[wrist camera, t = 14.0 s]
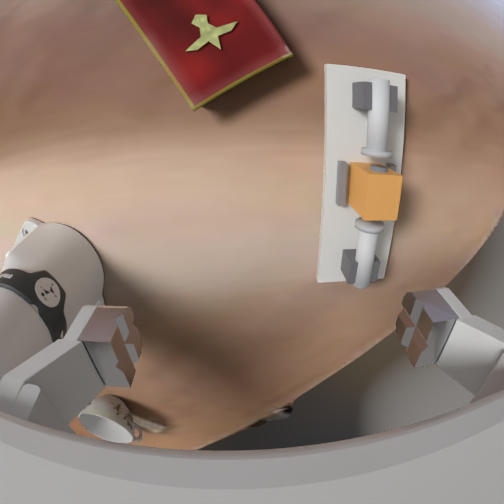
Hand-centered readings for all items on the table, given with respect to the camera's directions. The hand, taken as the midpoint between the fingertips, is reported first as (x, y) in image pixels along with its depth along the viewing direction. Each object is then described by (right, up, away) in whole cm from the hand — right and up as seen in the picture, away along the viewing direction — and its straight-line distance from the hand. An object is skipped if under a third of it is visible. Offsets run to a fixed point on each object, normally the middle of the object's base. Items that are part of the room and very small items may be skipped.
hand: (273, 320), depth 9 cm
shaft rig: (+13, +11, +27) cm, 32 cm away
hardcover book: (-7, +29, +18) cm, 34 cm away
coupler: (+13, +10, +26) cm, 31 cm away
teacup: (-30, -32, +49) cm, 66 cm away
